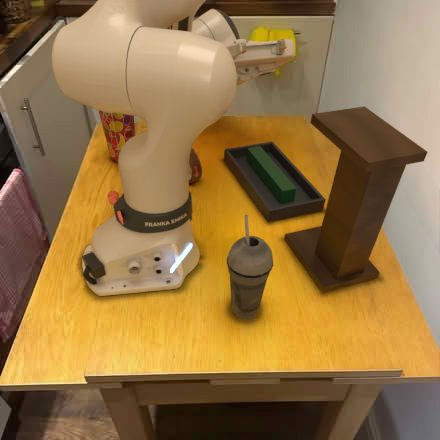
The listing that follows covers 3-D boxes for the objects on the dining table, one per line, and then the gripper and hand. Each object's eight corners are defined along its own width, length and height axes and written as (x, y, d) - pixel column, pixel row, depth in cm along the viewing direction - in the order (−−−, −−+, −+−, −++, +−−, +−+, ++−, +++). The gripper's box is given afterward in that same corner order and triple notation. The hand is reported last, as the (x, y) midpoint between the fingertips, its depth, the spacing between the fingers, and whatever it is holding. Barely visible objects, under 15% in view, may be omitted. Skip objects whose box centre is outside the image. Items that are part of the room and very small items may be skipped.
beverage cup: (262, 329, 69) (277, 236, 54) (220, 321, 69) (224, 228, 55) (268, 297, 73) (283, 205, 59) (228, 291, 74) (233, 198, 60)
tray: (268, 222, 88) (269, 210, 86) (223, 160, 106) (224, 149, 103) (323, 210, 92) (325, 199, 89) (271, 152, 109) (272, 141, 107)
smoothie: (108, 149, 108) (93, 68, 93) (140, 148, 109) (130, 67, 94) (106, 166, 102) (89, 82, 88) (139, 165, 103) (128, 81, 88)
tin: (203, 186, 97) (203, 153, 91) (192, 190, 96) (191, 157, 90) (172, 158, 106) (169, 126, 99) (161, 161, 104) (158, 130, 98)
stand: (322, 293, 75) (362, 164, 55) (284, 239, 85) (306, 114, 65) (377, 278, 78) (433, 150, 58) (334, 228, 88) (369, 105, 68)
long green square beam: (280, 204, 92) (282, 190, 89) (246, 160, 105) (247, 147, 102) (294, 201, 93) (296, 188, 90) (258, 158, 105) (260, 145, 103)
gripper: (197, 50, 94) (214, 31, 82) (276, 43, 99) (305, 24, 87) (201, 80, 96) (219, 66, 84) (279, 72, 102) (307, 57, 89)
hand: (263, 45), depth 85 cm, fingers open, 8 cm apart
